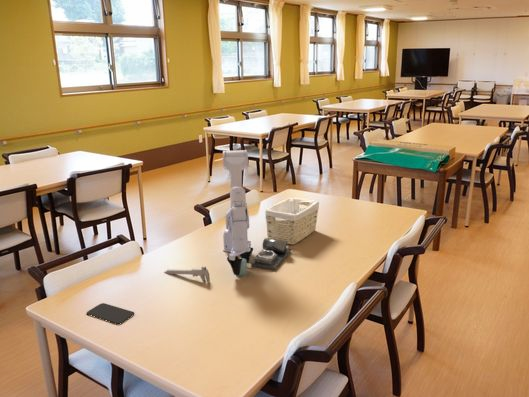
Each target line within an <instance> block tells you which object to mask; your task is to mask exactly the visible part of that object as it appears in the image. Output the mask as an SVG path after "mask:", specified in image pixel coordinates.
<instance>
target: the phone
mask: <svg viewBox="0 0 529 397" xmlns="http://www.w3.org/2000/svg"><path fill="white" fill-rule="evenodd" d="M87 314H89V315H92V316H95V317H98V318H101V319H104V320H103V321H105V320H107V321H110V322H109V323H111V322H113V323H112V324H114V323H116V324H115V325H117V324H120V323H122V322H124V321H125V320H127V319H128V318H130V317H131V316H132V315H134V314H135V312H134V311H132V310H129V309H124V308H121V307H119V306H115V305H112V304H108V303H104V302H102V303H100V304H98V305H96V306H94V307H92V308H90V309H89V310H88V311H86V315H87ZM89 315H88V316H89ZM92 316H91V317H92ZM134 316H135V315H134ZM95 317H94V318H95ZM132 317H133V316H132ZM132 317H131V318H132ZM98 318H97V319H98ZM131 318H130V319H131ZM101 319H100V320H101ZM128 320H129V319H128ZM128 320H127V321H128ZM107 321H106V322H107ZM125 322H126V321H125ZM125 322H124V323H125ZM122 324H123V323H122ZM120 325H121V324H120Z"/></svg>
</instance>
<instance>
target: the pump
mask: <svg viewBox="0 0 529 397" xmlns="http://www.w3.org/2000/svg"><path fill="white" fill-rule="evenodd" d="M239 258H240V259H243V260H242V262H241V266H240V274H239V275H236V276H237V277H244V276H246V275H248V268H249V269H251V268H252V266H251V264H250V263H247V260H246V259H245V258H241V257H239Z"/></svg>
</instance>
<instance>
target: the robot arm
mask: <svg viewBox="0 0 529 397" xmlns="http://www.w3.org/2000/svg"><path fill="white" fill-rule="evenodd" d="M248 164H249V153H248V151H247V149H244V150H223V151H222V165H223V168H224V170H227V171H228V172H229V176H230V191H229V200H230V207H229V209H228V210H226V213H225V230H224V231H223V238H222V239H223V249H222V252H227V253H229V254H228V256H227V258H226V261H227V262H228V263H229V265H230V267H231V270H232V272H233V275H234V276H237V275H239V274H240V266H241V262H242V260H243V259H240V258H245V259H246V260H247V263H249V262H250V261H251V256H252V253H253V251H254V248H253V247H251V246H252V242H251V241H250V240H248V238H249V237H248V230H249V228H250V215H249V208H248V205H247V198H246V197H247V196H246V189H245V188H243V186H242V184H243V183H242V182H243V170H245V169H247V167H248ZM239 255H240V257H238V256H239Z"/></svg>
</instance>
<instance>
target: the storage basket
mask: <svg viewBox="0 0 529 397" xmlns="http://www.w3.org/2000/svg"><path fill="white" fill-rule="evenodd" d="M319 204H320V203H319V201H318V200H312V199H306V198H299V197H294V196H293V197H288V198H286V199H284V200H281V201H280V202H278V203H275V204H273V205H271V206H269V207H268V208H267V209H265V212H264V213H265V220H266V232H267V233H266V234H267V238H269V239H276V240H283V241H287V245H292V246H293V245H296V244H297V243H298V242H301V241H302V240H304V239H305V238H306V237H308V236H309V235H311V234H312V233H314V232H315V231H316V229H317V222H318V213H319V209H320V207H319ZM300 206H307V207H303V208H300Z"/></svg>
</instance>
